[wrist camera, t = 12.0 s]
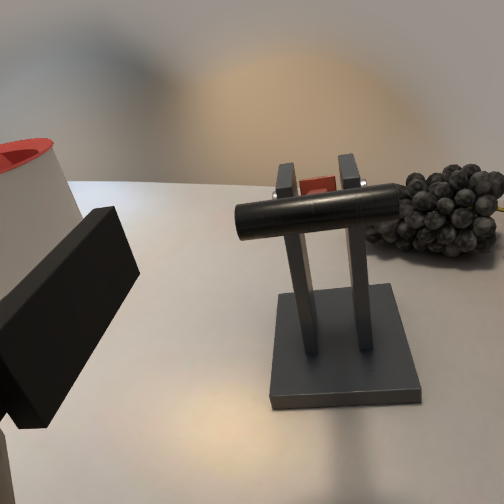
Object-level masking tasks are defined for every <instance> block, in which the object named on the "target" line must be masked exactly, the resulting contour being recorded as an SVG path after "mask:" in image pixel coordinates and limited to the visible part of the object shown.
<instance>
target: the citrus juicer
mask: <svg viewBox="0 0 504 504" xmlns="http://www.w3.org/2000/svg"><path fill="white" fill-rule="evenodd" d="M53 144H54V143H53V141H52V140H51V139H47V138H35V139H27V140H20V141H15V142H10V143H5V144H1V145H0V300H1V299H2V298H3V297H5V296H6V295H8V294H9V293H10V292H11V291H12V290H13V289H14V288H15V287H16V286H17V285H18V284H19V283H20V282H21V281H22V280H23V279H24V278H25V277H26V276H27V275H28V274H29V273H30V272H31V271H32V270H33V269H34V268H35V267H36V266H37V265H38V264H39V263H40V262H41V261H42V260H43V259H44V258H45V257H46V256H47V255H48V254H49V253H50V252H51V251H52V250H53V249H54V248H55V247H56V246H57V245H58V244H59V243H60V242H61V241H62V240H63V239H64V238H65V237H66V236H67V235H68V234H69V233H70V232H71V231H72V230H73V229H74V228H75V227H76V226H77V225H78V224H79V223H80V222H81V221H82V220H83V217H82V215H81V213H80V211H79V208H78V206H77V204H76V201H75V199H74V197H73V194H72V192H71V190H70V187H69V185H68V183H67V180H66V178H65V176H64V174H63V171H62V169H61V167H60V164H59V162H58V160H57V157H56V155H55V153H54V151H53V148H52V146H53Z"/></svg>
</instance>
